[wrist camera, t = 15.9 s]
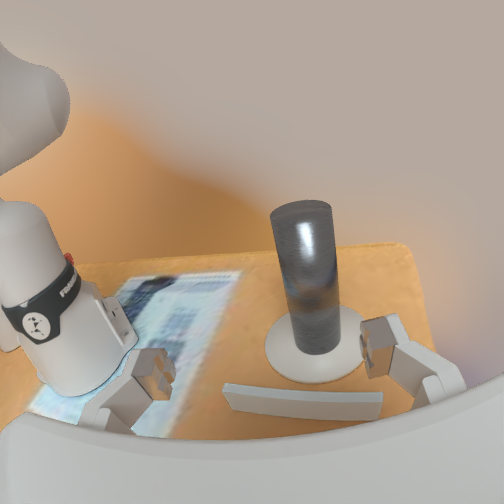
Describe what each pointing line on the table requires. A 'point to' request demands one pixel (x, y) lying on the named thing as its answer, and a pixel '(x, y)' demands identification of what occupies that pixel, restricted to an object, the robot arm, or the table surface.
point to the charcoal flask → (309, 273)
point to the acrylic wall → (305, 403)
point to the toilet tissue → (7, 334)
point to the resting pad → (315, 366)
